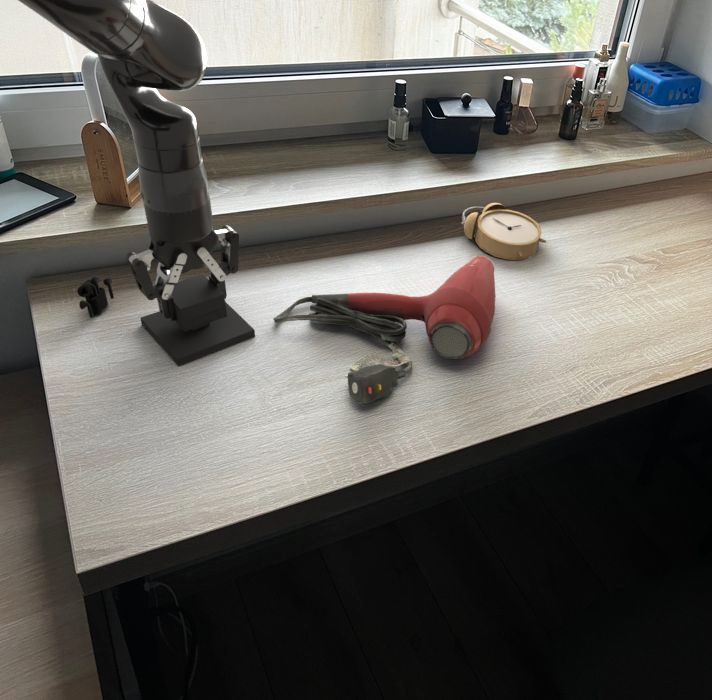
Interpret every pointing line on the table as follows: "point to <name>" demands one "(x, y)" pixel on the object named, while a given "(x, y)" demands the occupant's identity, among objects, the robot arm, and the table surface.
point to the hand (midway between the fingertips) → (195, 309)
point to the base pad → (197, 335)
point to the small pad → (197, 302)
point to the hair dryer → (382, 310)
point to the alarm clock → (503, 231)
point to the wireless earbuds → (94, 295)
